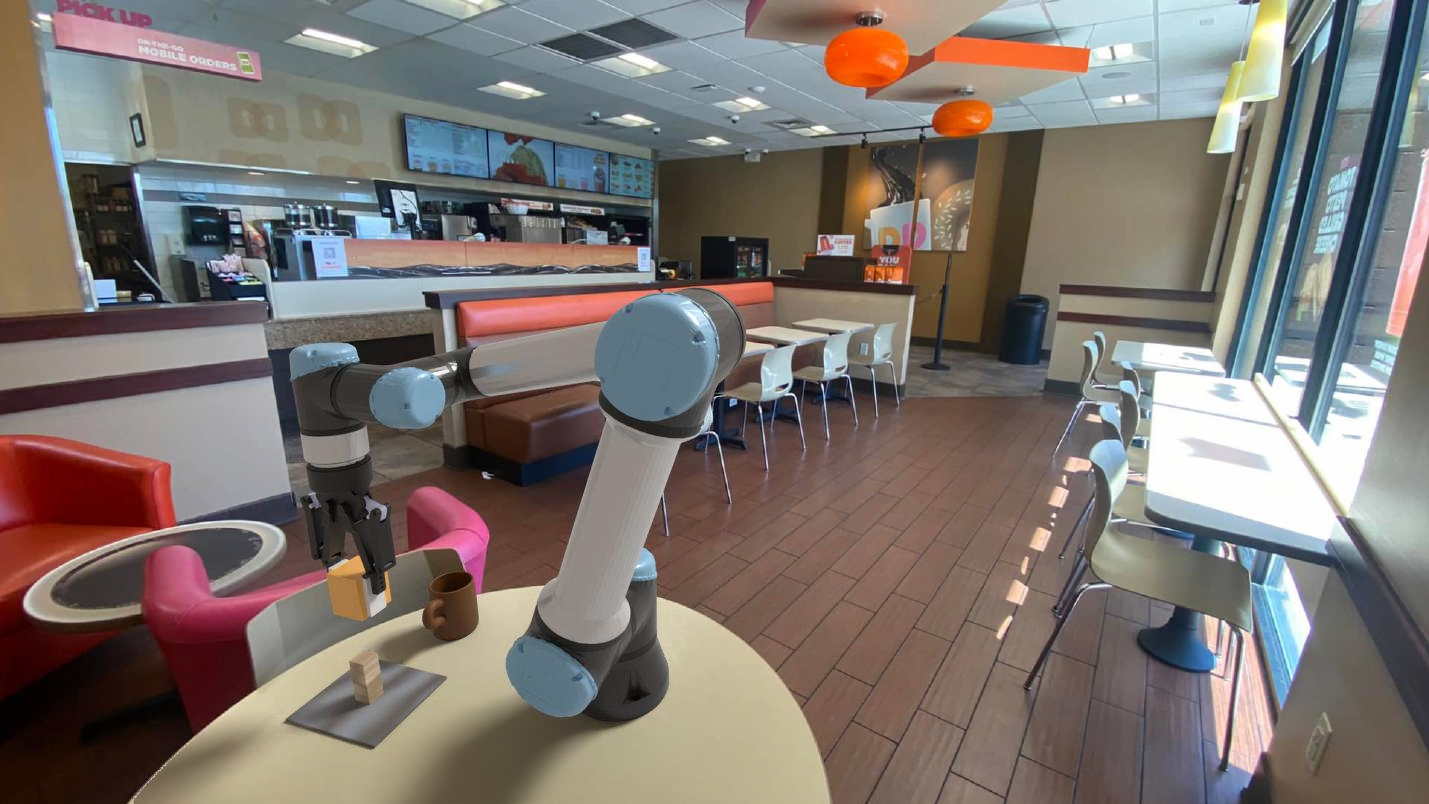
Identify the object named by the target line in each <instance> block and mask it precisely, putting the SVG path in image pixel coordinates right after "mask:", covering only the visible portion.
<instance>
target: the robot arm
mask: <svg viewBox="0 0 1429 804" xmlns="http://www.w3.org/2000/svg"><path fill="white" fill-rule="evenodd" d="M746 346H747V328H746V324H745V320H744V317H743V316H742V313H741V311H740V310H739V308H738V307H737V306H736V304H735V303H734V302H732V300H730V299H729V297H727V296H726V295H724V294H722V293H721V292H718V291H717V290H714V289H711V288H705V287H702V286H701V287H698V286H696V287H695V286H694V287H688V288H684V289H680V290H679V289H678V290H674V291H669V292H668V291H667V292H666V291H662V292H661V291H660V292H653V293H649V294H646V295H643V296H641V297H639V298H636V299H635V300H632V301H631V302H630V303H627V304H625V305H623V306H622V307H621V308H619V309H618V310H617V311H616V312H614V313H613V314H612V316H610V318H608V320H604V321H599V322H594V323H589V324H583V325H577V326H573V327H568V328H562V329H559V330H553V331H552V330H551V331H548V332H547V331H546V332H542V333H537V334H533V335H528V336H522V337H516V338H510V339H505V340H502V341H501V340H500V341H496V342H491V343H486V344H485V343H484V344H482V345H475V346H471V345H470V346H464V347H460V348H456V349H454V350H451V351H446V352H442V353H438V354H433V355H429V356H425V357H422V358H418V359H417V358H415V359H412V360H408V361H403V362H399V363H395V364H389V365H380V364H379V365H378V364H377V365H376V364H367V363H362V362H360V360H361V359H360V358H359V355H358V352H357V349H356V347H355V346H354V345H352V344H350V343H346V342H320V343H318V342H317V343H309V344H304V345H299V346H296V347H295V348H293V349H292V350H291V351H290V353H289V356H288V357H289V369H290V378H289V381H290V382H291V386H292V392H293V398H294V403H295V408H296V414H297V415H296V416H297V420H298V426H299V429H300V432H299V433H300V441H301V449H302V455H303V460H304V461H305V462H306V463H307V464H306V465H305V469H306V470H305V471H306V476H307V482H308V487H309V489H310V491H312V492H310V493H308V494H305V495H303V496H300V498H299V501H300V504H301V506H302V508H303V510H304V514H305V519H306V520H305V521H306V527H307V533H308V534H307V535H308V541H309V547H310V553H311V555H310V556H311V558H312V560H314V561H318V560H319V561H321V564H322V565H323V566H324V567H326V574H327V573H329V572H330V571H332V570H334V569H335V568H337V567H339V566H340V565H342V564H344V563H346V562H347V561H349V560H350V559H347V558H345V557H347V556H348V554H349V553H346V552H345V541H346V532H347V533H350V534H351V535H352V539H353V542H354V544H355V547H356V550H357V552H358V556H360V558H361V561H362V564H363V566H364V569H365V572H366V573H365V574H363V575H362V576H361V577H362V583H363V590H364V597H365V604H366V611H367V616H368V618H369V617H370V618H373V617H374V616H375V615H377V614H378V613H380V612H381V611H382V610H384V609H385V608H386V607H387V604H386V599H385V590H386V580H385V572H386V571H387V572H388V571H389V570H390V569H393V568H395V566H397V559H396V552H395V545H394V540H393V539H394V538H393V533H392V524H391V520H390V518H391V513H392V505H391V504H390V503H389V502H385V503H383V504H381V503H379V502H377V501H376V500H374V497H373V494H372V493H371V490H370V485H372V484H371V483H372V481H373V479H374V469H373V464H372V463H373V462H372V456H371V455H370V454H369V452H370V443H369V435H368V427H367V424H373V425H379V426H385V427H388V428H393V429H399V430H406V429H413V430H418V429H425V428H428V427H430V426H431V425H433V424H434V423H435V421H436V420H437V419H438V418H439V417H440V416H441V415H442V413H443V410H444V409H447V408H449V407H452V406H454V405H455V406H456V405H458V404H461V403H465V402H468V401H475V400H479V399H480V400H481V399H486V398H491V397H495V396H496V397H497V396H501V395H507V394H508V395H509V394H514V393H521V392H528V391H534V390H541V389H546V388H555V387H561V386H567V385H574V384H580V383H587V382H592V381H593V382H594V381H599V382H600V390H599V392H598V393H599V394H598V396H597V406H598V408H599V410H600V412H601V413H602V414H603V415H604V417H605V423H604V426H603V429H602V432H601V436H600V438H599V441H598V446H597V448H596V451H595V455H594V458H593V462H592V465H591V469H590V471H589V475H588V478H587V480H586V485H585V488H584V490H583V491H584V492H583V495H582V498H581V500H580V504H579V506H578V509H577V514H576V516H575V520H574V523H573V527H572V530H571V534H570V536H569V540H568V542H567V546H566V549H565V552H564V554H563V555H564V556H563V559H562V562H561V565H560V569H559V572H558V575H557V576H556V577H554V578H553V579H550V580H549V581H548V582H547V583H546V584H545V585H544V586H542V589H541V591H540V593H539V595H538V599H537V602H536V605H535V608H534V611H533V613H532V617H531V621H530V623H529V625H528V627H527V629H526V630H525V632H524V634H522V635H521V636H519V637H518V638H516V640H514V642H513V644H512V646H511V647H510V649H509V650H508V652H507V654H506V657H505V671H506V674H507V677H508V680H509V683H510V684H511V686H512V687H513V688H514V689H515V691H516V693H517V694H518V695H519V697H521V699H522V700H524V701H525V703H526V704H528V705H529V706H531V707H532V708H534V709H536V710H537V711H539V712H541V713H543V714H545V715H548V716H552V717H555V718H564V717H568V718H569V717H573V716H577V715H579V714H580V713H584V714H585V715H587V716H590V717H591V718H594V719H598V720H601V721H609V722H618V721H627V720H631V719H635V718H638V717H640V716H643V715H645V714H646V713H648V712H650V711H651V710H652V709H654V708H656V707H657V706H658V705H659V704H660V703H661V702H662V701H663V699H664V698H665V696H666V694H667V693H668V690H669V685H670V668H669V667H670V666H669V663H668V661H667V658H666V656H665V653H664V650H663V648H662V646H661V643H660V640H659V638H658V610H657V609H658V601H657V600H658V599H657V596H658V595H657V593H658V591H657V590H658V589H657V577H658V571H657V568H656V567H657V566H656V560H655V557H654V555H653V554H652V552H650V551H649V550H648V549H646V547H644V545H645V543H646V541H647V538H648V536H649V532H650V529H651V527H652V523H653V521H654V517H655V515H656V513H657V509H658V507H659V504H660V502H661V498H662V496H663V493H664V491H665V488H666V485H667V482H668V479H669V476H670V473H671V472H672V468H673V465H674V463H675V460H676V457H677V455H678V451H679V449H680V447H681V444H682V443H684V442H688V441H690V440H692V439H695V438H696V437H697V436H698V435H699V434H700V432H701V429H702V427H703V424H704V421H705V418H706V416H707V414H708V411H709V408H710V406H711V403H712V400H713V397H714V395H715V392H716V390H717V387H718V385H719V384H720V383H721V382H723V380H726V378H727V377H729V376H730V375H731V374H732V373H733V372H734V370H735V369H736V368H738V366H739V364H740V363H741V361H742V359H743V356H744V354H745V351H746ZM321 547H322V548H321ZM344 558H345V559H344Z"/></svg>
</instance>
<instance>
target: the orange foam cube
mask: <svg viewBox="0 0 1429 804" xmlns="http://www.w3.org/2000/svg"><path fill="white" fill-rule="evenodd" d="M348 560H349V561H347V562H346V563H344V564H342V565H340V566H339V567H337V568H335V569H334V570H332V571H330V572H329V573H327V572H326V579H327V585H328V591H329V596H330V601H331V607H332V614H333V615H336V616H339V617H344V618H347V619H350V620H354V621H355V620H356V621H359V622H364V621H365V620H367V619H368V618H369V617H368V616H367V611H366V604H365V597H364V590H363V583H362V577H361V576H362V575H363V574H365V573H366V572H365V569H364V566H363V564H362V561H361V558H360V555H359V554H358V555H356V556H354V557H352V558H351V559H348ZM388 573H389V572H388V571H386V572H385V580H386V590H385V599H386V605H387V604H389V603H390V602H391V601H392V595H391V586H390V583H389V582H390V580H389V574H388Z"/></svg>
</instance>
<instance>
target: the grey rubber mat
mask: <svg viewBox="0 0 1429 804" xmlns="http://www.w3.org/2000/svg"><path fill="white" fill-rule="evenodd" d="M348 664H349V669H348V670H347V671H346V672H344V673H343V674H342V675H341V676H339V677H338V678H336V680H334V681H333V682H331V683H329V685H328V686H326V687H325V688H324V689H322V690H321V691H320V692H319V693H317V694H315V696H313V697H312V698H311V699H309V700H308V701H307V702H306V703H304V704H303V705H301V706H300V707H299V708H298V709H296V710H295V711H294V712H293V713H291V714H290V715H288V717H286V718H285V721H286V722H287V723H291V724H295V725H298V726H301V727H305V728H308V729H311V730H314V731H317V732H319V733H324V734H327V735H331V736H334V737H338V738H340V739H344V740H347V741H349V742H354V743H357V744H360V745H364V746H366V747H369V748H373V749H375V748H376V747H377V746H379V745H380V743H382V741H384V739H386V738H387V737H388V736H389V735H390V734H392V732H393V731H394V730H396V728H397V727H398V726H399V725H401V724H402V722H404V721H405V720H406V718H408V717H409V716H410V715H411V714H412V713H414V711H415V710H416V709H417V708H418V707H419V706H421V704H422V703H423V702H424V701H425V700H427V698H429V697H430V696H431V694H433V693H434V692H435V691H436V690H437V689H438V688H439V687H440V686H441V685H442V684H443V683H444V682H445V681H446V680H447V679H448V676H446V675H442V674H440V673H439V674H438V673H434V672H430V671H428V670H427V671H426V670H423V669H419V668H415V667H410V666H407V665H403V664H399V663H395V662H391V661H387V660H382V659H379V655H378V653H377V652H375V651H370V650H366V649H363V650H362V651H360V652H358V654H356V655H355V656H354V657H352V658H351V659H349V660H348Z"/></svg>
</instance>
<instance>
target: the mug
mask: <svg viewBox="0 0 1429 804" xmlns="http://www.w3.org/2000/svg"><path fill="white" fill-rule="evenodd" d="M428 600H429V602H428V603H426V606H425V607H424V608H423V611H422V616H421V622H422V625H423V627H424V628H425V629H426V630H429V631H433V633H434V635H435V637H438V638H439V639H441V640H448V641H449V640H451V641H452V640H458V639H462V638H464V637H467V636H468V635H470V634H471V633H473V632H474V631H475V630H476V629H477V627H478V625H479V622H480V621H479V620H480V616H479V615H480V614H479V606H478V605H479V604H478V595H477V588H476V581H475V577H474V575H473V574H472V573H471V572H470V571H469V572H468V571H464V570H455V571H449V572H445V573H442V574H440V575H438V576H437V577H435V578H434V579H432V580H431V581H430V583H429V585H428Z"/></svg>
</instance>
